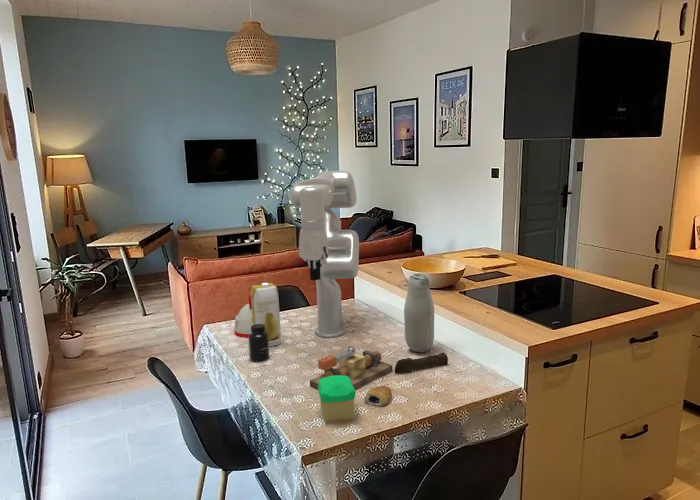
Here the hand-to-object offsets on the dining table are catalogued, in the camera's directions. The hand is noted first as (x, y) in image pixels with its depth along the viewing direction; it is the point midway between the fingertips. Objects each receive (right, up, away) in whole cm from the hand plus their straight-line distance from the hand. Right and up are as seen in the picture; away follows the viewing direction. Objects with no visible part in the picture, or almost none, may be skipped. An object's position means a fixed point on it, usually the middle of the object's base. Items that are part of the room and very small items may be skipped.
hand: (315, 279), depth 170 cm
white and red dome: (-28, -24, +37) cm, 52 cm away
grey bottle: (+36, -26, +12) cm, 46 cm away
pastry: (+20, -34, -22) cm, 45 cm away
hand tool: (+35, -30, -3) cm, 46 cm away
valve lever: (+8, -25, -14) cm, 29 cm away
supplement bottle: (-20, -29, +10) cm, 36 cm away
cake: (+8, -35, -29) cm, 47 cm away
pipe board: (+12, -31, -8) cm, 34 cm away
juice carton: (-20, -26, +23) cm, 40 cm away
